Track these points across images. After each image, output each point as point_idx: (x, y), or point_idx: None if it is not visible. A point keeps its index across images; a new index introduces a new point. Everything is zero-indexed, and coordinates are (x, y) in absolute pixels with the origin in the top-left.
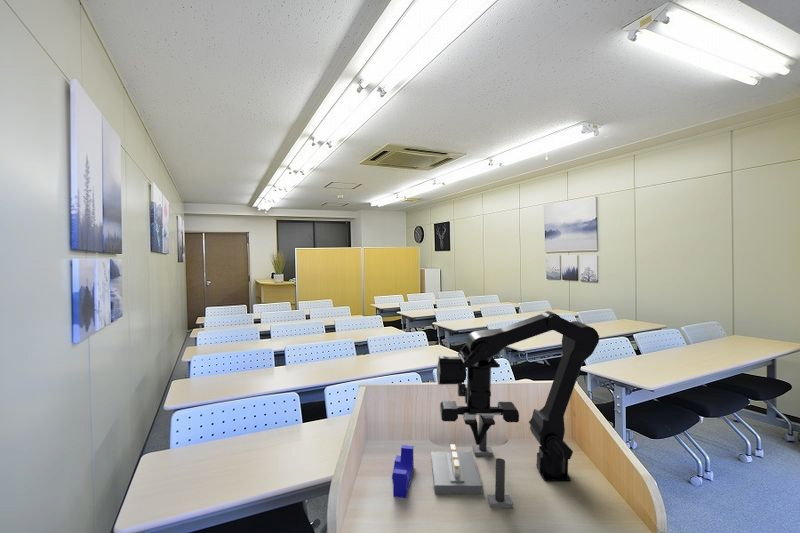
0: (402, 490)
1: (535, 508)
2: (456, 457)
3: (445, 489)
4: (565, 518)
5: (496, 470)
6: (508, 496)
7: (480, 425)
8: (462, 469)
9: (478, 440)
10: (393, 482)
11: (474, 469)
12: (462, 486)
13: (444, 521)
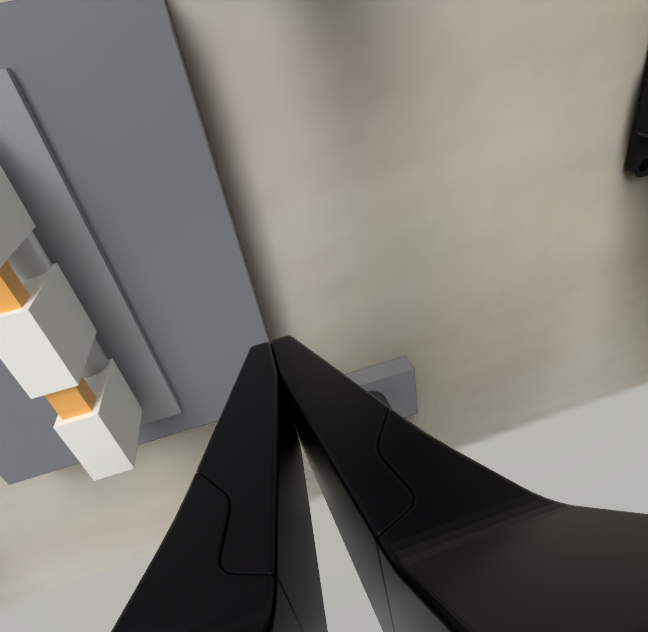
0: None
1: (497, 372)
2: (66, 385)
3: None
4: (578, 381)
5: None
6: (408, 380)
7: (395, 627)
8: (135, 299)
9: (299, 446)
10: None
11: (226, 272)
12: (178, 429)
13: (144, 541)
